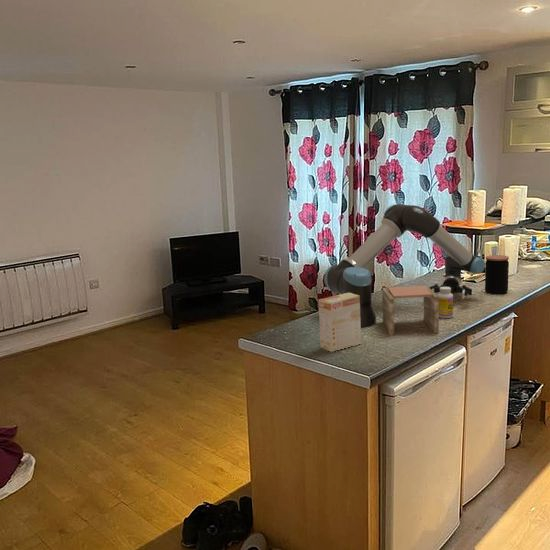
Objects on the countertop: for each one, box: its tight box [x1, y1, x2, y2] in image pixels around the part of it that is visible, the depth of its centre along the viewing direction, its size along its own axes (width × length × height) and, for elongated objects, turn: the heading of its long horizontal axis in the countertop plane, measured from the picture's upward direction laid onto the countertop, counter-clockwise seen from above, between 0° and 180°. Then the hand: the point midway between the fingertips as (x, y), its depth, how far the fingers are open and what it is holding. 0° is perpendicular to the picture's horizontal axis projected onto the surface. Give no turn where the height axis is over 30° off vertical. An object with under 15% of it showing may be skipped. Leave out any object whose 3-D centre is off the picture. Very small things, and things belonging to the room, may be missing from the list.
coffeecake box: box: [318, 293, 362, 351], centre depth 209 cm, size 15×7×20 cm, turn 123°
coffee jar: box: [484, 254, 510, 295], centre depth 274 cm, size 11×11×18 cm
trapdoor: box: [386, 285, 432, 299], centre depth 227 cm, size 15×16×1 cm
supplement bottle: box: [436, 287, 454, 319], centre depth 240 cm, size 7×7×13 cm
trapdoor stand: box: [381, 285, 440, 336], centre depth 228 cm, size 19×20×15 cm
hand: (447, 295), depth 248 cm, fingers open, 13 cm apart
